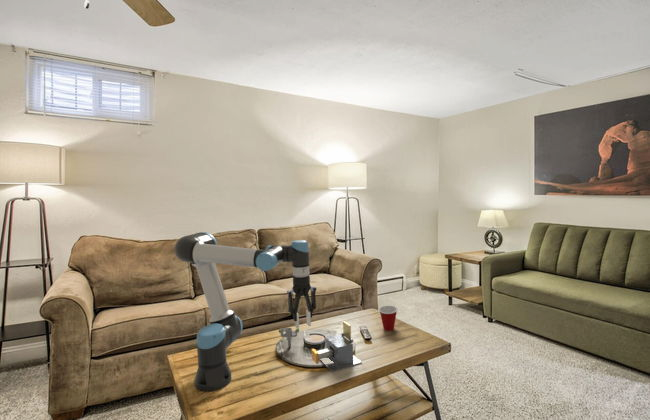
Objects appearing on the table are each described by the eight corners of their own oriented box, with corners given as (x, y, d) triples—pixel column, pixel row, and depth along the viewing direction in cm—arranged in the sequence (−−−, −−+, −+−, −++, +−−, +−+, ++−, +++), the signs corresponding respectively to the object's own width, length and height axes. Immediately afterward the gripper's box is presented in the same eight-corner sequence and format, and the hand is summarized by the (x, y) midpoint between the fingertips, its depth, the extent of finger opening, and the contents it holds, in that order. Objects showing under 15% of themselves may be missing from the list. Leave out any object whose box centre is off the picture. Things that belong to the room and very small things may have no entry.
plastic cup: (375, 328, 198) (374, 308, 198) (388, 323, 205) (388, 304, 204) (388, 334, 190) (387, 313, 189) (401, 329, 196) (401, 309, 195)
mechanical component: (299, 348, 176) (298, 329, 176) (279, 349, 176) (278, 330, 176) (299, 346, 179) (298, 327, 178) (280, 346, 179) (279, 327, 179)
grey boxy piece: (331, 372, 153) (330, 348, 152) (318, 358, 165) (317, 336, 164) (361, 363, 160) (361, 339, 159) (346, 350, 172) (346, 329, 171)
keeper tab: (351, 339, 161) (349, 340, 161) (344, 335, 167) (343, 335, 166) (350, 325, 161) (349, 325, 160) (344, 321, 166) (343, 321, 166)
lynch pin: (316, 364, 154) (316, 353, 154) (312, 359, 159) (311, 349, 158) (343, 356, 160) (343, 346, 160) (338, 352, 165) (338, 342, 164)
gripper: (284, 280, 144) (287, 333, 146) (323, 274, 152) (324, 325, 154) (279, 276, 151) (281, 327, 153) (315, 270, 159) (317, 319, 160)
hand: (303, 326), depth 153 cm, fingers open, 5 cm apart
